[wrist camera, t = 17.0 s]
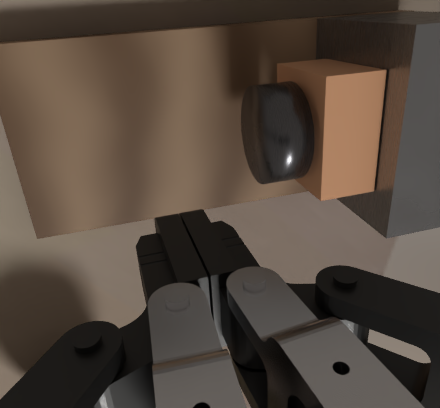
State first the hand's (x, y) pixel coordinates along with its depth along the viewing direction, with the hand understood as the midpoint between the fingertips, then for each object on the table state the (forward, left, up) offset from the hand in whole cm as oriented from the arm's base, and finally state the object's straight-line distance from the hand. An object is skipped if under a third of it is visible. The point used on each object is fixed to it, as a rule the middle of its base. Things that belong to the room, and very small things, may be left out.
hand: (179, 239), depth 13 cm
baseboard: (+5, 0, -14) cm, 15 cm away
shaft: (+11, 0, -11) cm, 16 cm away
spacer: (+9, 0, -11) cm, 15 cm away
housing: (+14, 0, -13) cm, 19 cm away
